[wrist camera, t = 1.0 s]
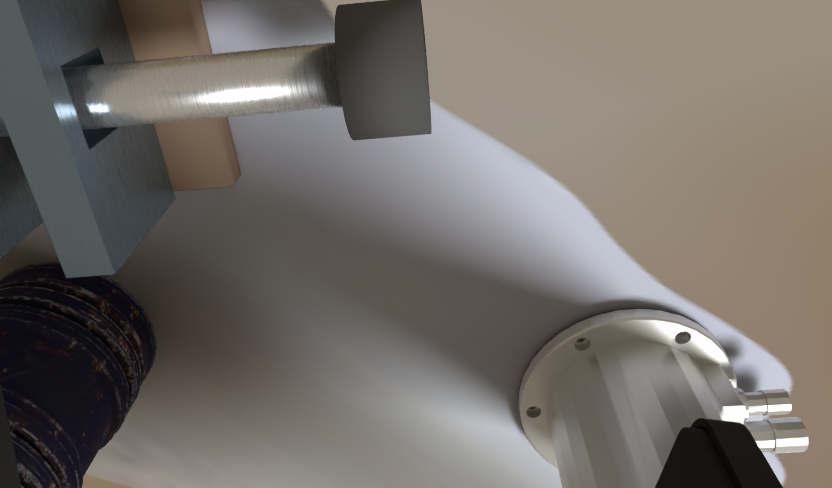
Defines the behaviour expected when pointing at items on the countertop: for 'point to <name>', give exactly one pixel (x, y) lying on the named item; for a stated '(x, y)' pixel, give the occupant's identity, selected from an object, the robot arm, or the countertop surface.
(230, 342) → the countertop surface
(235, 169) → the base plate
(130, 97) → the shaft
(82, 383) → the storage jar
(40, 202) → the bearing blocks
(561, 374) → the robot arm
